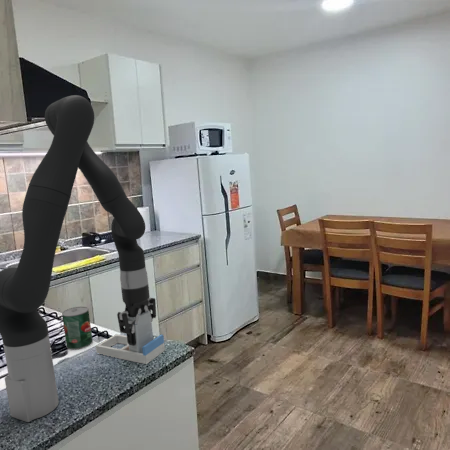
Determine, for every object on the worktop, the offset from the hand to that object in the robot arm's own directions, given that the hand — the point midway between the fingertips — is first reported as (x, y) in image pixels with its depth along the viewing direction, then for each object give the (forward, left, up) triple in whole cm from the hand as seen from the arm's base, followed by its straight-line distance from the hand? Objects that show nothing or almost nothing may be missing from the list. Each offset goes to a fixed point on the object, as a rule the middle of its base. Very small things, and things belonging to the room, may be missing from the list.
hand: (140, 339), depth 114 cm
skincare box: (0, 0, -4) cm, 4 cm away
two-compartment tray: (0, +4, -5) cm, 7 cm away
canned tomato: (-1, +24, -5) cm, 25 cm away
